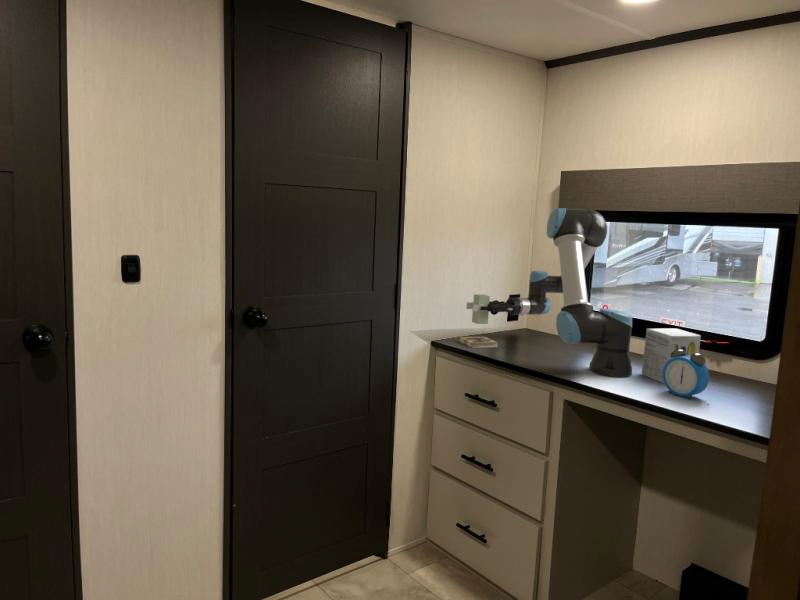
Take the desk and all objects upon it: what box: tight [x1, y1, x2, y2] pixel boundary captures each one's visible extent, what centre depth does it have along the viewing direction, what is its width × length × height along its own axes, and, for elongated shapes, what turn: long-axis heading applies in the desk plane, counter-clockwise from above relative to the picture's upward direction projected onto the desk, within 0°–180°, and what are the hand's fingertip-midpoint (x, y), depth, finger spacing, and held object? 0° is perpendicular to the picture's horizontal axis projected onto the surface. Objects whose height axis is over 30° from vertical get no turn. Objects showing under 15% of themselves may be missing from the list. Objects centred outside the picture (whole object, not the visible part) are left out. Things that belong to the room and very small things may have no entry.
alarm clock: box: [663, 349, 710, 400], centre depth 200 cm, size 13×6×15 cm, turn 35°
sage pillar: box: [471, 293, 491, 325], centre depth 260 cm, size 5×5×12 cm
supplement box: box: [641, 327, 702, 385], centre depth 220 cm, size 13×13×18 cm
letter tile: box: [459, 336, 498, 349], centre depth 262 cm, size 12×12×2 cm
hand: (470, 306), depth 258 cm, fingers closed on sage pillar, 5 cm apart
